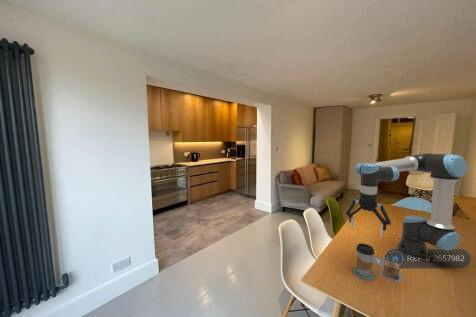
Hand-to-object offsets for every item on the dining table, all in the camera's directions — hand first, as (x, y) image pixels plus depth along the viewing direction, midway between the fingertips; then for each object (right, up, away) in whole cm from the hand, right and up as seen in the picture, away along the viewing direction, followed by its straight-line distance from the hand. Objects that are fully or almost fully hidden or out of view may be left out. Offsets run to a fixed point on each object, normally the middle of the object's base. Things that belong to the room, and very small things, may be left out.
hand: (366, 232), depth 108 cm
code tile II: (+14, -24, +1) cm, 28 cm away
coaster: (0, -24, +2) cm, 24 cm away
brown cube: (+14, -24, +1) cm, 28 cm away
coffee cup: (0, -23, +2) cm, 24 cm away
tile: (+14, -23, +15) cm, 31 cm away
